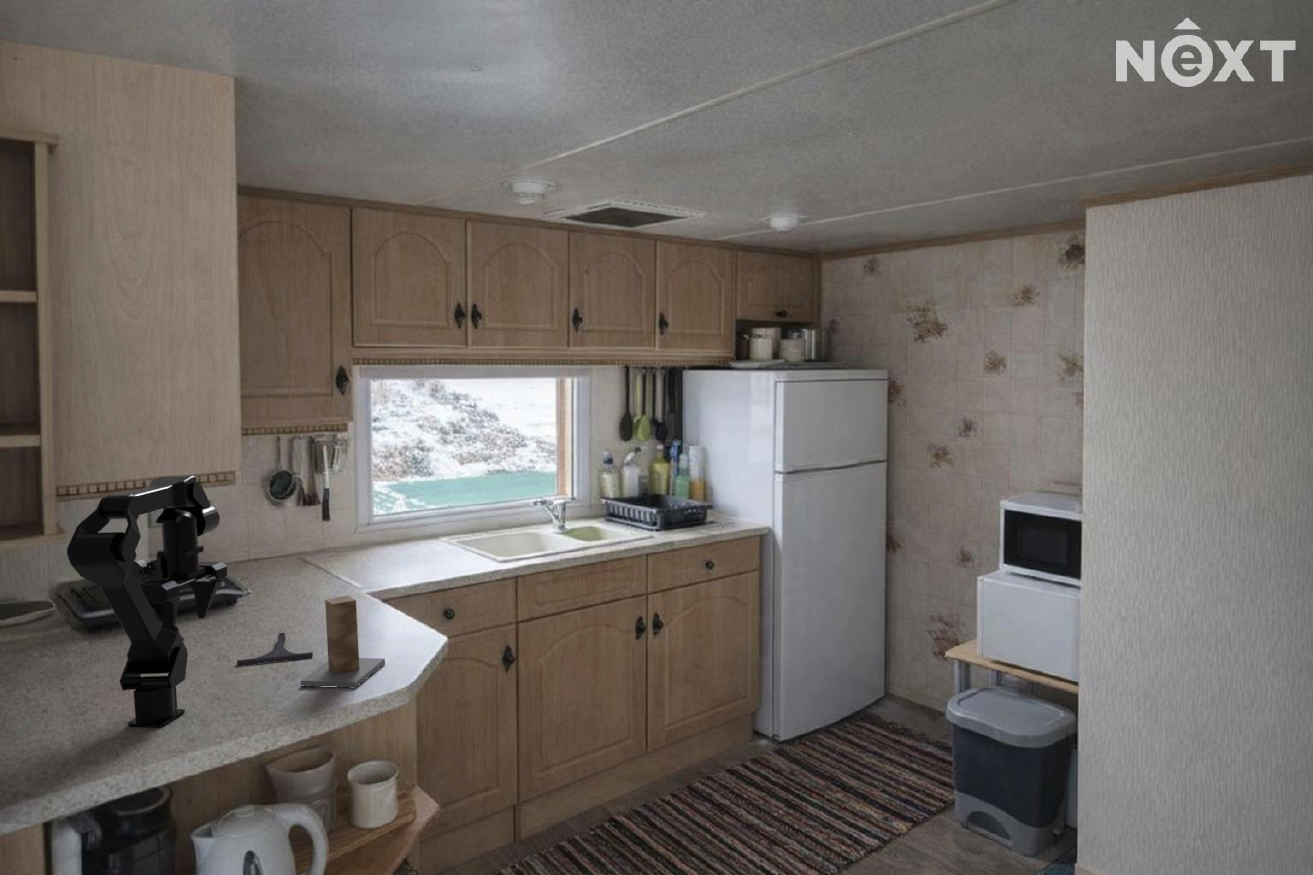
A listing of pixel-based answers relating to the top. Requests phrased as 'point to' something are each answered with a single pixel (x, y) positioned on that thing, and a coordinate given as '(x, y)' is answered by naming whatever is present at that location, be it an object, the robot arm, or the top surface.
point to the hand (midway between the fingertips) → (186, 625)
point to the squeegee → (276, 654)
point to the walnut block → (342, 634)
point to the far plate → (349, 679)
